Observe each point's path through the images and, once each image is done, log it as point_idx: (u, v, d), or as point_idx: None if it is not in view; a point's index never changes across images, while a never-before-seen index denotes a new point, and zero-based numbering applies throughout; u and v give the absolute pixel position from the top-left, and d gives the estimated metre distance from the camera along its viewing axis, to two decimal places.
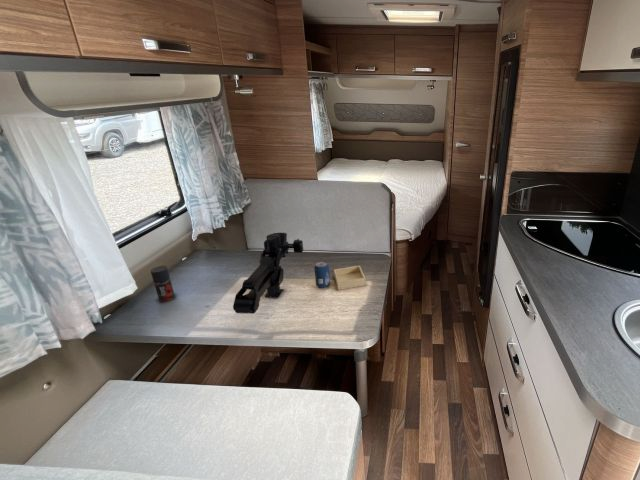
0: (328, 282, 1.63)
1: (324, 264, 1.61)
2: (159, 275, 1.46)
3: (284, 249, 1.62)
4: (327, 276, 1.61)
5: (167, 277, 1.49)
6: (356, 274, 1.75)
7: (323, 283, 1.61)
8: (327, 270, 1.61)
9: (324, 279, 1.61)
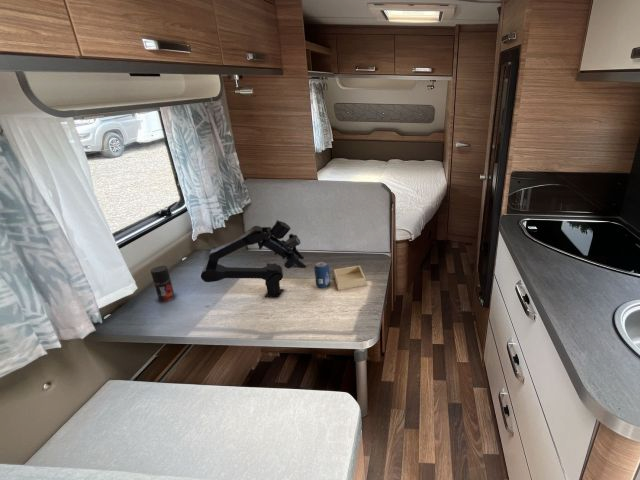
0: (328, 282, 1.63)
1: (324, 264, 1.61)
2: (159, 275, 1.46)
3: (280, 247, 1.49)
4: (327, 276, 1.61)
5: (167, 277, 1.49)
6: (356, 274, 1.75)
7: (323, 283, 1.61)
8: (327, 270, 1.61)
9: (324, 279, 1.61)
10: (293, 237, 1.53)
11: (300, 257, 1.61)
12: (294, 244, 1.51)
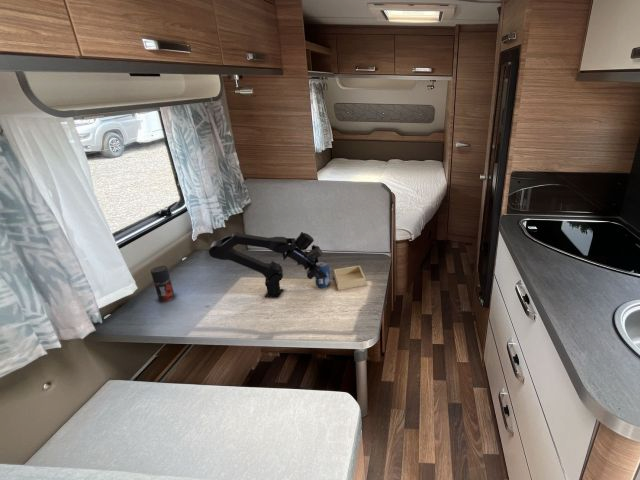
0: (328, 282, 1.63)
1: (324, 264, 1.61)
2: (159, 275, 1.46)
3: (303, 258, 1.54)
4: (327, 276, 1.61)
5: (167, 277, 1.49)
6: (356, 274, 1.75)
7: (323, 283, 1.61)
8: (327, 270, 1.61)
9: (324, 279, 1.61)
10: (316, 248, 1.58)
11: None
12: (316, 255, 1.56)
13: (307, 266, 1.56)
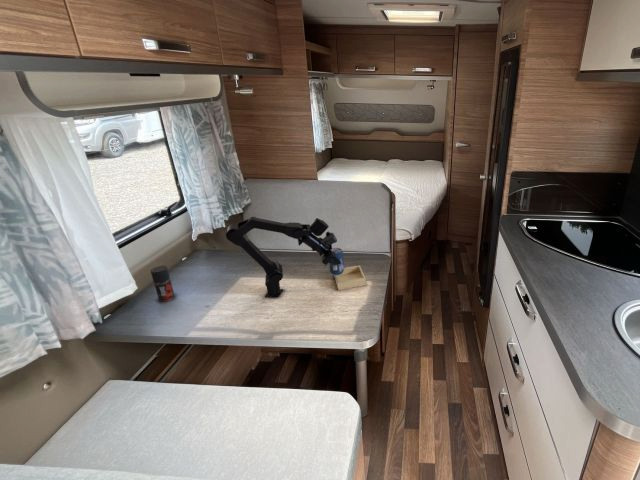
0: (342, 269, 1.63)
1: (339, 251, 1.62)
2: (159, 275, 1.46)
3: (318, 244, 1.55)
4: (341, 263, 1.62)
5: (167, 277, 1.49)
6: (356, 274, 1.75)
7: (337, 270, 1.62)
8: (341, 257, 1.61)
9: (338, 266, 1.61)
10: (330, 235, 1.59)
11: None
12: (331, 242, 1.57)
13: (322, 252, 1.57)
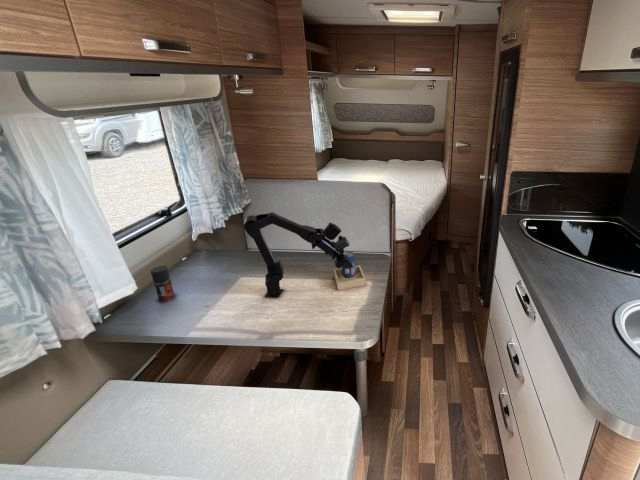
0: (354, 272, 1.66)
1: (351, 254, 1.65)
2: (159, 275, 1.46)
3: (331, 248, 1.58)
4: (353, 266, 1.65)
5: (167, 277, 1.49)
6: (356, 274, 1.75)
7: (349, 273, 1.65)
8: (353, 260, 1.64)
9: (350, 269, 1.64)
10: (343, 239, 1.62)
11: None
12: (344, 245, 1.60)
13: (334, 256, 1.60)
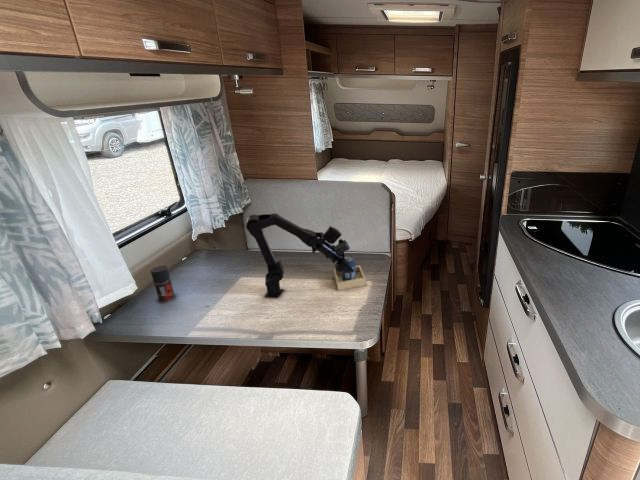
0: (354, 276, 1.67)
1: (351, 259, 1.66)
2: (159, 275, 1.46)
3: (332, 252, 1.59)
4: None
5: (167, 277, 1.49)
6: (356, 274, 1.75)
7: (349, 278, 1.66)
8: (353, 265, 1.65)
9: (350, 273, 1.65)
10: (343, 242, 1.63)
11: None
12: (344, 249, 1.61)
13: (335, 259, 1.60)
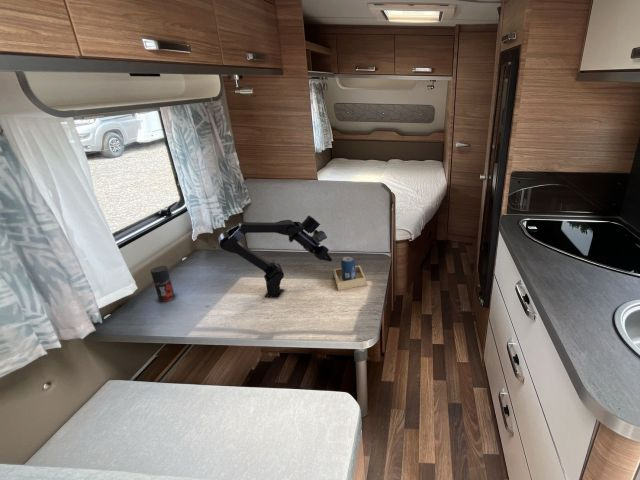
0: (354, 276, 1.67)
1: (351, 259, 1.66)
2: (159, 275, 1.46)
3: (310, 241, 1.57)
4: (353, 270, 1.66)
5: (167, 277, 1.49)
6: (356, 274, 1.75)
7: (349, 278, 1.66)
8: (353, 265, 1.65)
9: (350, 273, 1.65)
10: (319, 232, 1.62)
11: None
12: (322, 238, 1.60)
13: (313, 249, 1.58)
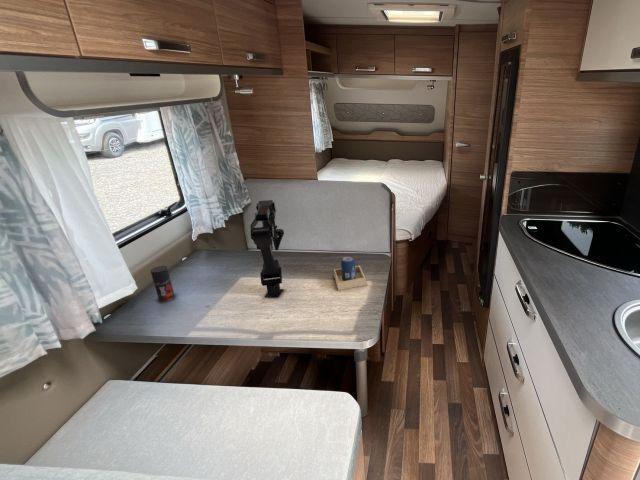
0: (354, 276, 1.67)
1: (351, 259, 1.66)
2: (159, 275, 1.46)
3: None
4: (353, 270, 1.66)
5: (167, 277, 1.49)
6: (356, 274, 1.75)
7: (349, 278, 1.66)
8: (353, 265, 1.65)
9: (350, 273, 1.65)
10: None
11: None
12: None
13: None
